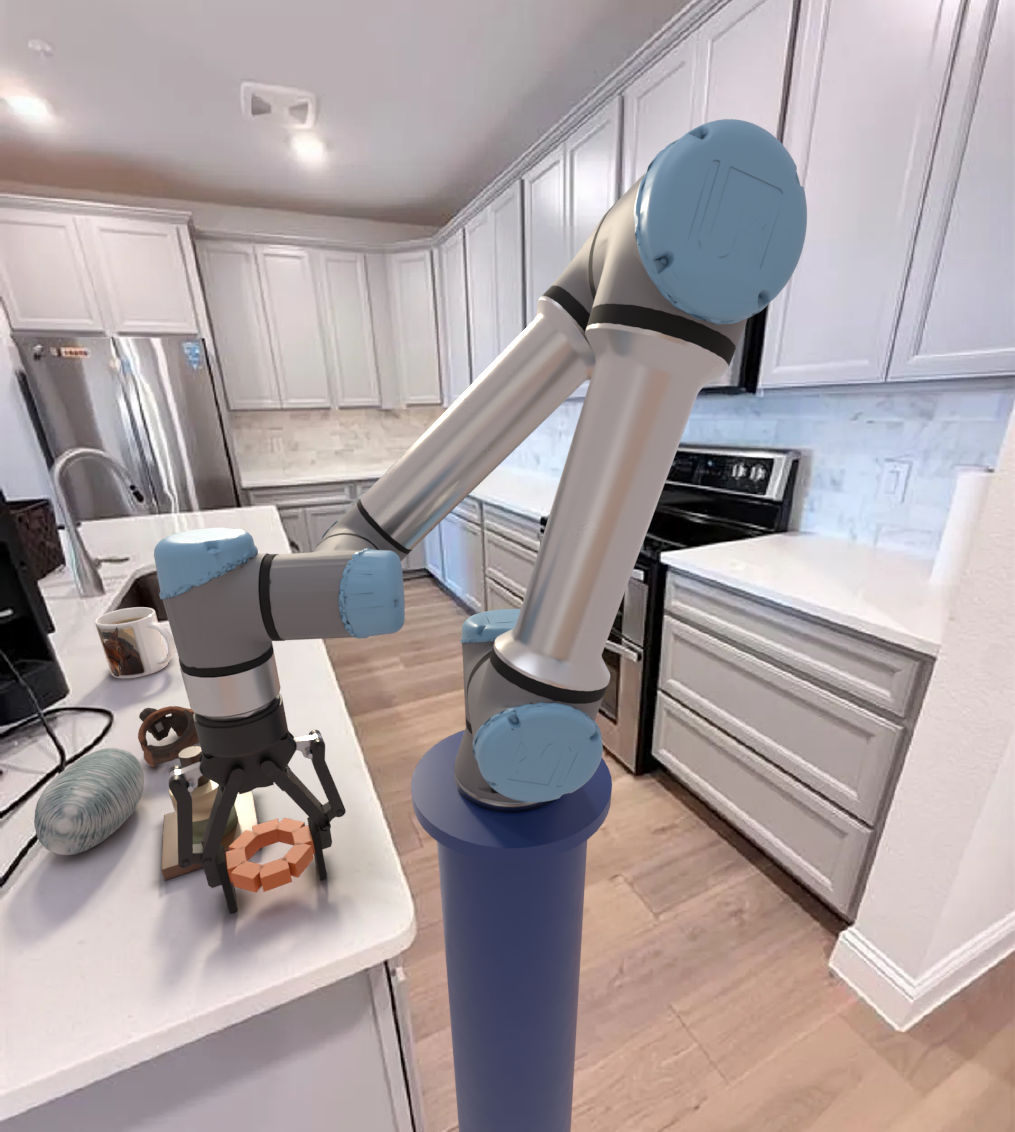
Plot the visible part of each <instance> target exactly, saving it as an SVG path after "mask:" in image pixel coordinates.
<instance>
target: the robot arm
mask: <svg viewBox="0 0 1015 1132" xmlns="http://www.w3.org/2000/svg"><path fill="white" fill-rule="evenodd" d="M797 170H798V169H797V165H796V163H795V161H794V159H793V157H792V155H791V153H790V152H789V150H788V149H787V148H786V147H785V146H784V144H783V143H782V141H780V140H779V139H778V138H777V137H776V136H775V135H773V133H771V132H769V131H768V130H767V129H765V128H764V127H762V126H760V125H758V124H755V123H753V122H749V121H746V120H740V119H736V118H735V119H733V118H731V119H730V118H723V119H717V120H713V121H709V122H705V123H703V124H701V125H698V126H697V127H694V128H693V129H690V130H689V131H688V132H686V133H685V134H683V135H682V136H681V137H680V138H677V139H676V140H674V141H672V142H670V143H669V144H667V145H666V146H665V147H664V148H663V149H661V150H660V151H659V152H658V153H656V155H655V157H654V158H653V159H652V160H651V162H650V163H649V165H648V166H647V167H646V170H645V172H644V173H643V174H642V175H641V176H640V178H638V179H637V180H636V181H635V182H634V183H633V185H632V186H630V188H628V190H626V192H625V193H623V195H622V196H621V197H620V198H619V199H618V200H617V201H616V202H615V203H613V205H612V206H611V207H609V209H608V210H607V211H606V212H605V213H604V215H603V216H602V218H601V219H599V222H598V223H597V224H596V226H595V228H593V230H592V232H591V233H590V235H589V236H588V238H587V239H586V240H585V242H584V243H583V245H582V246H581V247H580V249H579V250H578V252H577V253H576V254H575V256H574V257H573V259H572V260H571V261H570V263H569V264H568V265H567V266H566V267H565V268H564V270H563V272H562V273H561V274H560V275H559V276H558V278H557V279H556V280H555V281H554V282H553V283H552V285H551V286H550V287H549V288H548V289H547V290H546V291H545V292H544V293H543V294H542V295H541V296H540V297H539V298H538V300H537V303H536V316H535V318H534V319H533V320H532V321H531V322H530V323H529V324H528V325H527V326H526V328H524V329H523V330H522V332H521V333H519V335H518V336H516V337H515V339H514V340H513V341H512V342H511V343H510V344H509V345H508V346H507V347H506V348H505V349H504V350H503V351H502V352H501V353H500V354H499V355H498V356H497V357H496V358H495V359H494V360H493V361H492V362H491V363H490V365H488V367H486V368H485V370H484V371H483V372H482V373H481V374H480V375H479V376H478V377H477V378H476V379H475V380H474V381H473V382H472V383H471V384H470V385H469V386H468V387H467V388H466V389H465V390H464V391H463V392H462V393H461V394H460V395H459V396H458V397H457V398H456V399H455V400H454V401H453V402H452V403H451V405H450V406H448V407H447V408H446V409H445V411H444V412H442V414H441V415H440V416H439V417H437V419H436V420H435V421H434V422H433V423H432V424H431V425H430V426H429V427H428V428H427V429H426V430H425V431H424V432H423V433H422V434H421V435H420V436H419V437H418V439H417V440H416V441H414V443H413V444H412V445H411V446H410V447H408V449H407V450H406V451H405V452H404V453H403V454H402V455H401V456H400V457H398V459H397V460H396V461H395V462H394V463H393V464H392V465H391V466H390V467H389V468H388V469H387V470H386V471H385V473H383V475H381V477H380V478H379V479H378V480H377V481H375V483H374V484H372V486H371V487H369V489H368V490H367V491H366V492H365V493H364V494H363V495H362V496H361V497H360V499H359V500H358V501H357V502H356V503H355V504H353V505H352V506H351V507H350V508H349V510H347V512H345V514H344V515H343V516H342V517H341V518H339V519H338V520H336V521H334V522H333V523H332V524H331V525H330V526H329V528H328V529H327V530H326V531H325V532H324V533H323V535H321V539H320V541H319V543H318V544H317V545H316V546H315V548H314V549H313V550H312V552H295V553H280V554H279V553H268V552H265V553H260V552H259V549H258V547H257V546H256V545H255V542H254V538H253V535H252V534H250V533H249V532H248V531H246V530H245V529H241V528H233V527H232V528H228V527H208V528H206V527H205V528H198V529H190V530H185V531H180V532H176V533H172V534H170V535H168V536H166V537H164V538H162V539H160V540H159V541H158V543H157V544H156V545H155V547H154V549H153V557H154V563H155V564H154V565H155V570H156V575H157V581H158V585H159V586H158V587H159V590H160V592H159V594H158V596H159V599H160V600H162V603H163V607H164V610H165V613H166V617H167V620H168V624H169V628H170V631H171V635H172V637H173V639H174V642H175V650H176V653H177V657H178V663H179V666H180V668H179V670H180V673H181V677H182V680H183V684H184V688H185V693H186V696H187V699H188V703H189V707H190V709H192V710H193V711H194V714H193V719H194V723H195V727H196V731H197V735H198V739H199V743H198V744H199V746H200V747H201V751H202V754H201V757H200V759H199V762H197V763H195V764H192V765H190V766H187V767H184V768H183V767H182V766H181V764H176V765H173V766H171V767H170V768H169V771H168V790H169V789H170V791H171V792H172V794H173V796H174V798H175V799H176V801H177V829H178V865H179V867H180V868H187V867H189V866H191V865H192V864H200V865H202V866H203V868H202V869H203V872H204V874H205V878H206V881H207V884H208V885H207V886H209V887H210V889H214V888H217V887H220V886H221V887H222V891H223V895H224V899H225V903H226V905H227V909H228V912H229V914H234V913H236V912H238V911H239V909H238V908H239V907H238V898H237V890H236V887H234V884H233V882H232V883H230V879H229V875H228V872H227V864H226V854H225V850H224V846H223V845H220V843H221V840H222V837H223V834H224V831H225V828H226V825H227V821H228V818H229V815H230V812H231V809H232V806H234V804H235V801H236V798H237V795H238V793H239V795H240V794H244V793H247V792H249V791H251V790H252V791H253V790H255V789H260V788H267V787H270V786H274V785H276V786H277V787H278V789H280V790H281V791H282V792H285V794H287V796H288V797H289V798H290V799H291V800H292V801H293V802H294V803H295V804H296V805H297V806H298V807H299V808H300V809H301V810H302V811H303V812H304V813H305V815H306V816H308V817H307V818H306V820H307V824H308V826H309V829H310V832H311V835H312V839H313V843H314V849H315V854H313V857H314V859H313V860H314V865H315V867H316V871H317V874H318V878H319V881H322V880H325V879H327V878H328V875H327V874H328V873H327V869H326V863H325V856H324V851H323V850H326V849H329V848H331V847H332V845H333V839H332V832H331V828H332V825H331V821H333V819H335V818H342V817H344V816H345V815H346V812H347V810H346V808H345V805H344V802H343V800H342V798H341V794H340V793H339V791H338V788H337V786H336V784H335V781H334V779H333V776H332V774H331V773H332V772H331V771H330V769H329V766H328V764H327V762H326V743H325V740H324V738H323V736H322V733H321V732H320V730H318V729H312V730H311V731H309V733H308V735H301V736H300V735H299V736H294V735H293V733H291V732H290V730H289V728H288V720H287V716H286V710H285V706H284V701H283V700H284V699H283V696H282V694H281V693H280V692H281V684H280V683H281V682H280V677H279V672H278V666H277V661H276V656H275V650H274V645H273V642H285V641H302V640H324V639H325V640H326V639H328V640H329V639H347V638H350V639H351V638H354V639H355V638H356V639H359V640H360V639H367V638H369V637H377V636H383V635H384V636H385V635H391V634H396V633H398V632H399V631H401V630H402V629H403V627H404V624H405V618H406V611H405V608H406V604H405V603H406V602H405V601H406V600H405V588H404V587H405V586H404V585H405V584H404V573H403V566H402V562H403V561H404V559H405V558H406V557H407V556H408V555H409V554H410V553H411V552H412V551H413V549H415V547H416V546H418V544H420V543H421V542H422V541H423V540H424V539H425V538H426V537H427V536H428V535H429V534H430V533H431V532H432V531H433V530H434V529H435V528H437V526H438V525H439V524H441V522H442V521H443V520H444V519H445V518H446V517H447V516H448V515H449V514H450V513H452V512H453V510H454V509H455V508H456V507H458V506H459V505H460V504H461V503H462V502H463V501H464V499H466V498H467V497H468V496H469V495H470V494H471V493H472V492H473V491H474V490H475V489H476V488H477V487H478V486H480V484H481V483H482V482H483V481H485V480H486V478H487V477H488V476H490V475H491V474H492V472H494V471H495V470H496V469H497V468H498V467H499V466H500V465H501V464H502V463H503V462H504V461H505V460H506V459H507V458H508V457H509V456H510V455H511V454H512V453H513V452H514V451H516V449H517V448H519V446H520V445H521V444H522V443H524V441H526V440H527V439H528V438H529V437H530V436H531V435H532V434H533V433H534V432H535V431H536V429H538V428H539V427H540V426H541V425H542V424H543V423H544V422H545V421H546V420H547V419H548V418H549V417H550V416H552V414H553V413H554V412H556V410H557V409H559V407H560V406H561V405H562V404H563V403H564V402H566V401H567V399H569V398H570V397H571V396H572V395H573V394H574V393H575V392H576V391H577V390H578V389H579V388H580V387H581V386H582V385H583V384H584V383H585V382H587V381H589V383H588V387H587V390H586V394H585V396H584V400H583V403H582V406H581V410H580V413H579V417H578V419H577V423H576V426H575V429H574V433H573V436H572V439H571V443H570V446H569V450H568V452H567V455H566V459H565V463H564V465H563V469H562V472H561V476H560V479H559V482H558V485H557V489H556V491H555V495H554V499H553V502H552V505H551V508H550V512H549V515H548V518H547V521H546V525H545V528H544V531H543V534H542V537H541V541H540V545H539V548H538V551H537V554H536V558H535V561H534V565H533V568H532V571H531V574H530V577H529V581H528V584H527V587H526V590H525V594H524V597H523V601H522V605H521V607H520V608H502V609H493V610H487V611H486V610H485V611H482V612H478V613H475V614H473V615H471V616H468V618H466V619H465V621H464V622H463V623H462V626H461V638H460V640H459V642H460V644H461V650H462V669H463V670H462V672H463V673H462V674H463V675H462V676H463V693H464V694H463V696H464V697H463V698H464V716H465V717H464V719H465V729H464V730H465V731H464V734H463V737H462V740H461V743H460V747H459V750H458V753H457V756H456V759H455V763H454V779H455V785H456V787H457V789H458V791H459V793H460V794H461V795H462V796H463V797H464V798H465V799H466V800H468V801H469V802H470V803H472V804H474V805H476V806H478V807H480V808H483V809H486V810H490V811H494V812H500V813H521V812H528V811H532V810H536V809H539V808H542V807H544V806H546V805H548V804H550V803H552V802H553V801H555V800H556V799H559V798H560V797H561V796H562V795H564V794H567V793H572V792H574V791H576V790H577V789H579V788H580V787H582V786H583V785H584V784H585V783H586V782H587V781H588V780H589V779H590V778H591V777H592V776H593V775H594V773H595V772H596V770H597V768H598V766H599V764H600V762H601V758H603V752H604V747H603V734H602V732H601V728H600V727H599V725H598V723H597V722H596V719H597V716H598V713H599V710H600V707H601V705H602V702H603V699H604V696H605V694H606V691H607V689H608V687H609V684H610V680H611V673H610V671H609V669H608V666H607V665H606V663H605V661H604V659H603V656H602V655H603V653H604V649H605V646H606V644H607V641H608V639H609V636H610V633H611V630H612V628H613V625H614V622H615V619H616V618H617V614H618V612H619V608H620V606H621V603H622V601H623V598H624V595H625V593H626V590H627V587H628V584H629V581H630V580H631V576H632V574H633V571H634V568H635V565H636V563H637V561H638V558H639V554H640V552H641V550H642V546H643V544H644V541H645V539H646V536H647V532H648V530H649V528H650V525H651V522H652V520H653V516H654V513H655V511H656V509H657V506H658V503H659V500H660V497H661V495H662V492H663V489H664V486H665V484H666V481H667V478H668V476H669V474H670V470H671V467H672V465H673V462H674V460H675V457H676V454H677V451H678V448H679V445H680V443H681V441H682V438H683V436H684V432H685V430H686V428H687V424H688V421H689V418H690V417H691V413H692V411H693V408H694V405H695V403H696V400H697V397H698V395H699V393H700V391H701V390H702V389H703V388H705V387H706V386H708V385H709V384H712V382H714V381H716V380H718V379H719V378H721V377H723V376H724V375H726V374H727V373H728V370H729V368H730V366H731V363H732V360H733V358H734V355H735V353H736V350H737V347H738V345H739V343H740V339H741V337H742V334H743V331H744V329H745V326H746V324H747V322H748V320H749V318H751V317H753V316H755V315H756V314H759V313H760V312H762V311H763V310H764V309H765V308H766V307H767V306H768V305H770V303H771V302H772V301H773V300H775V298H777V297H778V296H779V294H780V293H781V292H782V291H783V289H785V287H786V286H787V284H788V283H789V282H790V280H791V278H792V276H793V274H794V273H795V270H796V268H797V266H798V264H799V261H800V259H801V256H802V253H803V249H804V245H805V241H806V235H807V227H808V206H807V205H808V204H807V197H806V191H805V187H804V186H803V185H801V182H800V177H799V175H798V173H797V172H798V171H797ZM296 751H299V752H301V753H302V756H303V757H304V758H306V759H308V760H310V761H311V764H312V766H313V769H314V771H315V773H316V776H317V778H318V781H319V783H320V786H321V788H322V789H323V793H324V795H325V796H326V799H327V802H325V803H322V802H321V801H320V800H319V799H318V798H317V797H316V795H314V793H313V792H311V790H310V789H309V788H308V787H307V786H306V785H305V784H304V782H303V781H302V780H300V778H299V777H298V776H297V775H296V774H295V773H294V772H293V771H292V769H291V768H290V766H289V763H290V762H291V760H292V758H293V757H294V756H295V753H296ZM201 776H205V777H207V778H208V779H210V780H212V781H213V782H215V783H217V784H218V790H217V794H216V797H215V800H214V803H213V807H212V810H211V813H210V816H209V819H208V822H207V826H206V829H205V832H204V835H203V838H202V841H201V840H200V844H193V823H192V792H193V791H194V789H196V788H197V786H198V779H199V778H200V777H201Z"/></svg>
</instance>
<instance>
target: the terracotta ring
mask: <svg viewBox="0 0 1015 1132" xmlns="http://www.w3.org/2000/svg"><path fill="white" fill-rule="evenodd" d="M252 830H253V832H252V831H248V830H245V831H244V832H243V833H242V834H241V835H240V836H239V837H238V838H237V839H236V840H235V841H234V842H233V843H232V844H231V845H230V846H229V847H228V849H229V851H228V852H226V853H225V854H226V864H227V872H228V875H229V879H230V883H232V882H233V884H234V887H235V888H238V889H240V890H244V891H249V892H252V893H255V894H256V893H258V891H260V890H261V888H262V892H263V893H266V892H269V891H271V890H274V889H276V888H279V887H282V886H285V885H288V884H290V883H292V882H293V880H292V879H293V878H292V877H295V878H299V877H301V875H302V874H303V873H304V871H305V870H306V869H307V868H308V867H309V865H311V863H312V862H313V860H315V859H314V854H315V849H314V843H313V839H312V835H311V832H310V829H309V825H306V823H305V822H304V821H300V820H295V819H292V818H287V817H284V818H282V819H281V820H280V821H279V818H274V819H271V820H268V821H265V822H262V823H261V822H260V823H258V825H255V826H252ZM278 843H280V844H281V843H282V844H286V845H290V846H291V847H290V849H289V850H288V851H287V852H286V853H285V855H284V856H283V857H280V858H278V859H275V860H272V861H270V862H265V863H264V864H261V863H257V862H253V861H249V860H251V859H252V858H253V857H254V855H255V854H256V853H257V852H258V851H259V850H261V849H263V848H265V847H268V846H271V845H274V844H278Z"/></svg>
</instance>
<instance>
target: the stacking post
mask: <svg viewBox="0 0 1015 1132" xmlns="http://www.w3.org/2000/svg"><path fill="white" fill-rule="evenodd" d="M201 754H202V751H201V747H200V745H194V746H192V747H188V748H185V749H183V750H182V751H181V752H180V753H179V754H178V756H179V758H178V759H179V763H180V766H182V767H183V768H184V767H187V766H190V765H192V764H195V763H197V762H199V759H200V757H201ZM217 790H218V784H217V783H215V782H213V781H212V780H210V779H208V778H207V777H205V776H201V777H200V778H199V779H198V786H197V788H196V789H194V791H193V792H192V823H193V844H200V840H201V841H202V838H203V835H204V832H205V829H206V826H207V822H208V819H209V816H210V813H211V810H212V807H213V803H214V800H215V797H216V794H217ZM168 794H169V797H170V800H171V801H170V802H171V804H172V807H173V810H174V811H173V812H170V813H169V812H168V813H166V814H163V824H162V825H163V826H162V845H161V864H160V865H161V866H160V871H161V874H162V877H163V880H164V881H167V880H170V879H173V878H176V877H179V876H182V875H186V874H188V873H191V872H193V871H197V870H200V869H204V868H203V866H202V865H200V864H192V865H191V866H189V867H187V868H180V867H179V865H178V829H177V801H176V799H175V798H174V796H173V794H172V792H171V791H170V789H169V788H168ZM258 824H259V820H258V814H257V809H256V802H255V798H254V794H253V790H251V791H249V792H247V793H244V794H240V795H239V792H238V795H237V798H236V801H235V804H234V806H232V809H231V812H230V815H229V818H228V821H227V825H226V828H225V831H224V834H223V837H222V840H221V843H220V845H223V846H224V850H225V853H226V852H228V851H229V849H228V847H229V846H230V845H231V844H232V843H233V842H234V841H235V840H236V839H237V838H238V837H239V836H240V835H241V834H242V833H243V832H244V831H245V830H248V831H252V832H253V830H252V826H255V825H258Z"/></svg>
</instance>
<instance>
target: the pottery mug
mask: <svg viewBox="0 0 1015 1132" xmlns="http://www.w3.org/2000/svg"><path fill="white" fill-rule="evenodd" d="M193 714H194V711H193V710H192V709H191V708H187V707H182V706H177V705H173V706H172V705H171V706H170V705H169V706H165V707H162V708H158V709H156V708H152V707H146V708H144V709H142V711H140V713H139V715H138V718H139V720H140V721H141V722H142V723H141V724H140V726H139V729H138V733H137V739H138V742H139V744H140V749H141V750H142V752H143V760H144V761H145V762H146V764H148V765H149V766H150V767H152V768H155V767H156V766H157V765H160V764H164V763H169V762H171V761H174V760H177V759H179V756H178V754H179V753H180V752H181V751H182V750H183V749H185V748H188V747H192V746H197V745H198V744H200V743H199V739H198V735H197V731H196V727H195V723H194V719H193ZM171 729H172V730H173V732H175V734H176V736H177V737H178V738H177V739H176V740H174V741H173V742H170V743H167V744H164V745H153V744H148V740H147V732H148V733H149V734H151V736H152V737H153V738H154V739H155V740H156V741H157V742H160V741H163V739H165V738H167V737H168V736H169V734H170V731H171Z"/></svg>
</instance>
